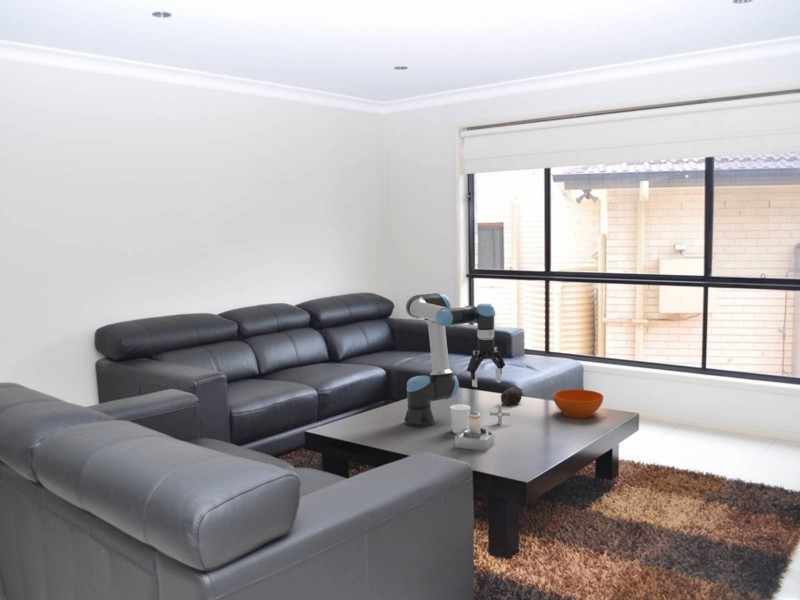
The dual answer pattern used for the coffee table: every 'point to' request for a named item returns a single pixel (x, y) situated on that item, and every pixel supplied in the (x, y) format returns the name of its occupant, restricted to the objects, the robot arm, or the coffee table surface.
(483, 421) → the coffee table surface
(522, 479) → the coffee table surface
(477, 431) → the cream flashlight
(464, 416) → the candle holder
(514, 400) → the rock
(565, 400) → the bowl
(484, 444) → the cradle fixture plate
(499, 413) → the pipe connector
